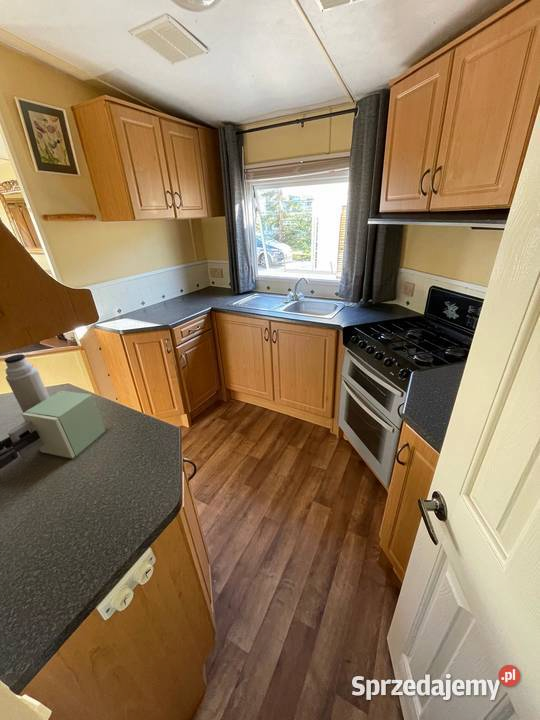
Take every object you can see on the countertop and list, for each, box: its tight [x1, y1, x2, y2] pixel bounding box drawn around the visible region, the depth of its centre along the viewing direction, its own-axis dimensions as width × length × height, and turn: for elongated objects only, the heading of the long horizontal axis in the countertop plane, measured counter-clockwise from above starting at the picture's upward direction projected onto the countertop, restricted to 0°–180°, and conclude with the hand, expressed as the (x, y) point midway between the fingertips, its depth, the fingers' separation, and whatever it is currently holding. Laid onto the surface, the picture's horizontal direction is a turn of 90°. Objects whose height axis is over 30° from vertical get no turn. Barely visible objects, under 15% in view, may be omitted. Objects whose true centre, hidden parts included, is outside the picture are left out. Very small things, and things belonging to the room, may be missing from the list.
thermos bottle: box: [4, 353, 50, 414], centre depth 96 cm, size 8×8×28 cm
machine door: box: [7, 412, 76, 459], centre depth 84 cm, size 7×13×14 cm, turn 74°
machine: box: [25, 390, 106, 457], centre depth 92 cm, size 12×13×15 cm
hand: (33, 432), depth 87 cm, fingers open, 4 cm apart
